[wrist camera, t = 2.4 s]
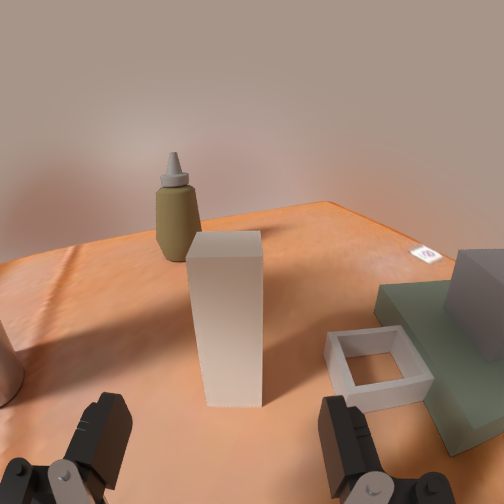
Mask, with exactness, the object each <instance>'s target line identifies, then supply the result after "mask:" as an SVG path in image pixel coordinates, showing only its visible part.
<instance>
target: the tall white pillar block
mask: <svg viewBox="0 0 504 504" xmlns="http://www.w3.org/2000/svg"><path fill="white" fill-rule="evenodd" d="M186 267H187V275H188V284H189V292H190V300H191V307H192V314H193V322H194V329H195V335H196V342H197V348H198V355H199V361H200V367H201V373H202V378H203V384H204V390H205V395H206V400H207V406H208V407H262V357H263V250H262V242H261V234H260V231H212V232H197V233H196V235H195V237H194V240H193V242H192V244H191V246H190V249H189V251H188V253H187V255H186Z"/></svg>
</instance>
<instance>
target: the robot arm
mask: <svg viewBox="0 0 504 504" xmlns="http://www.w3.org/2000/svg"><path fill="white" fill-rule="evenodd" d="M23 378H24V370H23V366H22V364H21V362H20V360H19V359H18V357H17V355H16V353H15V351H14V349H13V347H12V345H11V343H10V340H9V338H8V336H7V334H6V332H5V330H4V327H3V325H2V323H1V320H0V406H2V405H4V404H5V403H7V402H8V401H9V400H10V399H11V398H13V397H14V395H15V394H16V393H17V391H18V390H19V388H20V386H21V384H22V381H23ZM132 424H133V422H132V416H131V414H130V412H129V410H128V408H127V405H126V403H125V401H124V399H123V397H122V395H121V394H115V393H108V392H103V393H102V394H101V396H100V398H99V400H98V402H97V403H95V402H92V403H91V404H90V405H89V406H88V407H87V408H86V409H85V410H84V412H83V415H82V417H81V419H80V422H79V424H78V426H77V429H76V430H75V433H74V435H73V437H72V440H71V442H70V444H69V447H68V449H67V451H66V454H65V456H64V458H63V459H61V460H57V461H55V462H53V463H52V464H51V465H50V466H35V465H31V464H30V463H29V462H28V461H27V460H26V459H24V458H14V459H12V460H11V461H10V462H9V463H8V465H7V467H6V470H5V472H4V475H3V478H2V480H1V483H0V504H109V503H108V501H107V499H106V497H105V496H104V491H105V488H107V489H111V490H114V489H115V486H116V482H117V478H118V475H119V471H120V468H121V464H122V461H123V457H124V454H125V450H126V447H127V443H128V440H129V437H130V434H131V430H132ZM318 431H319V436H320V441H321V446H322V451H323V456H324V462H325V467H326V472H327V477H328V482H329V488H330V493H331V498H332V499H333V498H340V503H341V504H456V503H455V499H454V496H453V493H452V490H451V487H450V484H449V481H448V479H447V478H446V477H445V476H444V475H443V474H441V473H438V472H429V473H426V474H424V475H423V476H422V477H420V479H397V478H394V477H391V476H389V475H388V474H387V473H386V472H385V471H384V470H383V468H382V466H381V464H380V460H379V457H378V454H377V451H376V448H375V445H374V442H373V439H372V436H371V433H370V430H369V428H368V424H367V421H366V418H365V416H364V414H363V413H362V412H361V411H360V410H359V409H358V408H357V407H356V406H352V407H347V405H346V402H345V399H344V396H343V395H337V396H329V397H323V400H322V405H321V409H320V414H319V418H318Z"/></svg>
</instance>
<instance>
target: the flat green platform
mask: <svg viewBox="0 0 504 504" xmlns="http://www.w3.org/2000/svg"><path fill="white" fill-rule="evenodd" d="M374 313H375V315H376V317H377V318H378V320H379V322H380V324H381V325H382V327H378V328H368V329H357V330H346V331H333V332H327V336H326V342H325V348H324V354H323V355H324V358H325V362H326V365H327V368H328V372H329V375H330V379H331V382H332V386H333V389H334V393H335V396H337V395H343V396H344V399H345V402H346V405H347V407H352V406H356V407H357V408H358V409H359V410H360V411H361V412H362V413H367V412H373V411H378V410H383V409H388V408H393V407H398V406H402V405H407V404H411V403H415V402H419V401H424V403H425V405H426V407H427V409H428V411H429V413H430V415H431V417H432V419H433V421H434V423H435V425H436V427H437V429H438V431H439V433H440V436H441V438H442V440H443V442H444V444H445V446H446V448H447V451H448V453H449V455H450V457H452V456H455V455H457V454H459V453H462V452H464V451H466V450H469V449H471V448H473V447H475V446H477V445H479V444H481V443H484V442H486V441H488V440H490V439H492V438H493V437H495V436H497V435H499V434H501V433H503V432H504V249H477V250H476V249H471V250H458V255H457V259H456V263H455V267H454V271H453V274H452V278H451V280H443V281H431V282H417V283H402V284H386V285H380V286H379V291H378V296H377V300H376V305H375V310H374ZM388 352H390V353H391V355H392V356H393V358H394V360H395V362H396V364H397V366H398V368H399V370H400V372H401V373H402V375H403V377H404V378H402V379H397V380H392V381H386V382H380V383H374V384H367V385H360V386H355V384H354V381H353V378H352V375H351V373H350V370H349V367H348V364H347V362H346V359H345V358H348V357H357V356H366V355H374V354H381V353H388Z"/></svg>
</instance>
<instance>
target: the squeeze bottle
mask: <svg viewBox="0 0 504 504" xmlns="http://www.w3.org/2000/svg"><path fill="white" fill-rule="evenodd" d="M160 178H161V186H163V187H162V188H160V189H159V190H158V191H157V192H156V239H157V242H158V244H159V246H160V248H161V250H162V252H163V254H164V256H165V257H166V259H167V260H170V261H176V262H178V261H186V255H187V253H188V251H189V249H190V246H191V244H192V242H193V240H194V237H195V235H196V233H197V232H202V229H201V223H200V218H199V212H198V206H197V200H196V193H195V188H193V187H192V186H190V185H187V184H188V183H189V177H188V173H182V170H181V166H180V163H179V159H178V156H177V153H176V152H175V153H170V154H169V160H168V166H167V173H166V174H165V175H162V176H161V177H160Z"/></svg>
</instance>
